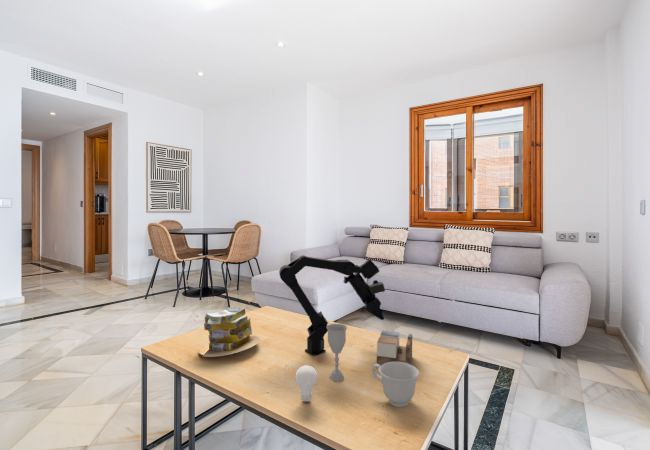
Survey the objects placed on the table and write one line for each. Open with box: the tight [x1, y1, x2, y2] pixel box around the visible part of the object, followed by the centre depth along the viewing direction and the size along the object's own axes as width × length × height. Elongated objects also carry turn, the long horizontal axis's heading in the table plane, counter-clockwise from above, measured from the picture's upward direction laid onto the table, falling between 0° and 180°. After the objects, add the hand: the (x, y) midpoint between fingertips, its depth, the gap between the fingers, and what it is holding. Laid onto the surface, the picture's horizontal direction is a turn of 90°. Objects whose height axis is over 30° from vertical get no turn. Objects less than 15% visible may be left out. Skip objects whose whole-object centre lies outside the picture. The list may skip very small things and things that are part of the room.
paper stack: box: [202, 307, 261, 358], centre depth 143 cm, size 25×25×17 cm
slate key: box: [379, 330, 400, 348], centre depth 136 cm, size 7×4×6 cm, turn 72°
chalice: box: [326, 323, 348, 382], centre depth 119 cm, size 7×7×18 cm
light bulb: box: [295, 364, 318, 403], centre depth 104 cm, size 7×7×11 cm
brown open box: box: [376, 333, 413, 366], centre depth 131 cm, size 12×13×10 cm
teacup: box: [371, 362, 420, 408], centre depth 105 cm, size 12×15×10 cm
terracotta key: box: [376, 336, 397, 358], centre depth 128 cm, size 7×4×6 cm, turn 72°
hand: (381, 316), depth 144 cm, fingers open, 9 cm apart
